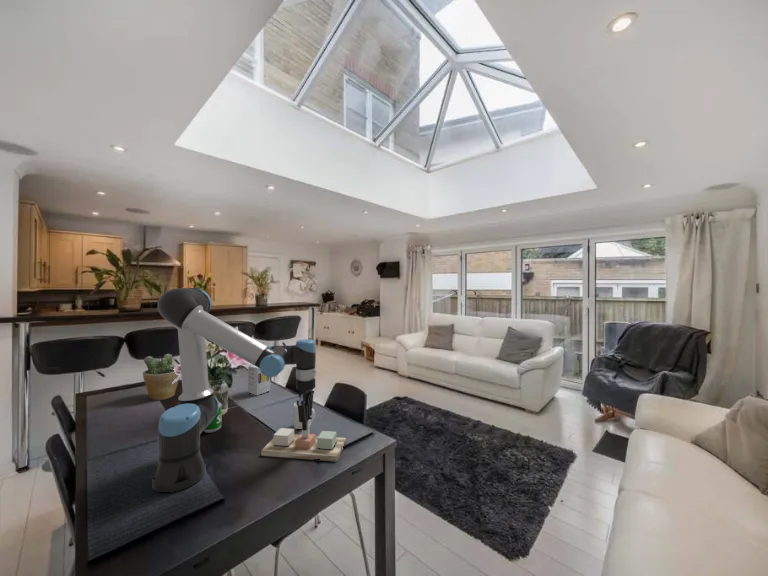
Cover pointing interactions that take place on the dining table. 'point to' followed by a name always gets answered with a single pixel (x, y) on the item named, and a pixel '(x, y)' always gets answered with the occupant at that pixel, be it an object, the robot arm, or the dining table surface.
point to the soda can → (215, 422)
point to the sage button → (326, 440)
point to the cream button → (283, 436)
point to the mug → (296, 417)
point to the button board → (304, 450)
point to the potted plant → (160, 377)
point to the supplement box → (257, 381)
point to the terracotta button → (305, 441)
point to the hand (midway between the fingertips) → (305, 436)
